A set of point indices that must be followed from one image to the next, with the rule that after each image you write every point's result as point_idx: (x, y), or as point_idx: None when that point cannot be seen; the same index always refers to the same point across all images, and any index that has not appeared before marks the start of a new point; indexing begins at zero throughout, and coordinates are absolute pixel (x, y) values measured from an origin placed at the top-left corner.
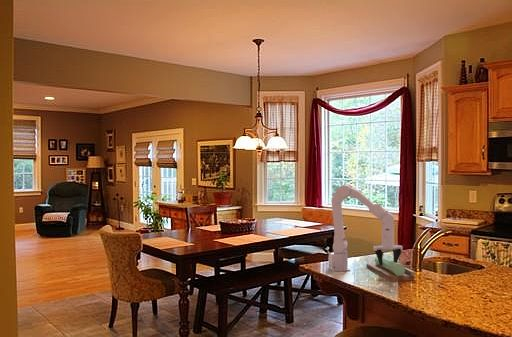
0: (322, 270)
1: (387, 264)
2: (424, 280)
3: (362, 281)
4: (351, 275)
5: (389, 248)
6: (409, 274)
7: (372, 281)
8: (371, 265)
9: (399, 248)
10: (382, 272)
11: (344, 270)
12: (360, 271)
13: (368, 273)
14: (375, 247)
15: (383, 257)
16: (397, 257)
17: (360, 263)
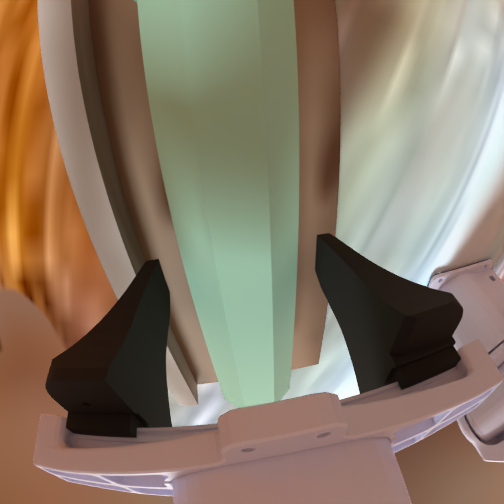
0: (499, 275)
1: (298, 174)
2: (7, 17)
3: (482, 40)
4: (476, 183)
5: (340, 405)
6: (87, 12)
7: (438, 12)
8: (311, 336)
9: (80, 442)
10: (338, 123)
11: (457, 270)
12: (392, 269)
13: (377, 221)
14: (498, 376)
15: (250, 379)
16: (124, 312)
17: (301, 393)
